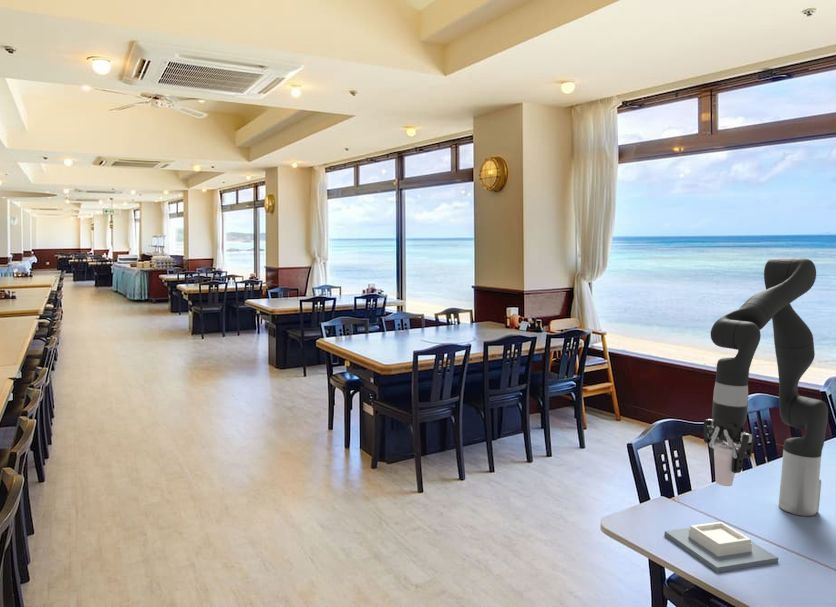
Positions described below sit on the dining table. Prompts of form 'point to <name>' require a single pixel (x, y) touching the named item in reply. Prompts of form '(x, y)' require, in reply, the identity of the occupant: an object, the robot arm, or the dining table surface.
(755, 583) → the dining table surface
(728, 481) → the smoothie
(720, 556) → the grey base with socket
